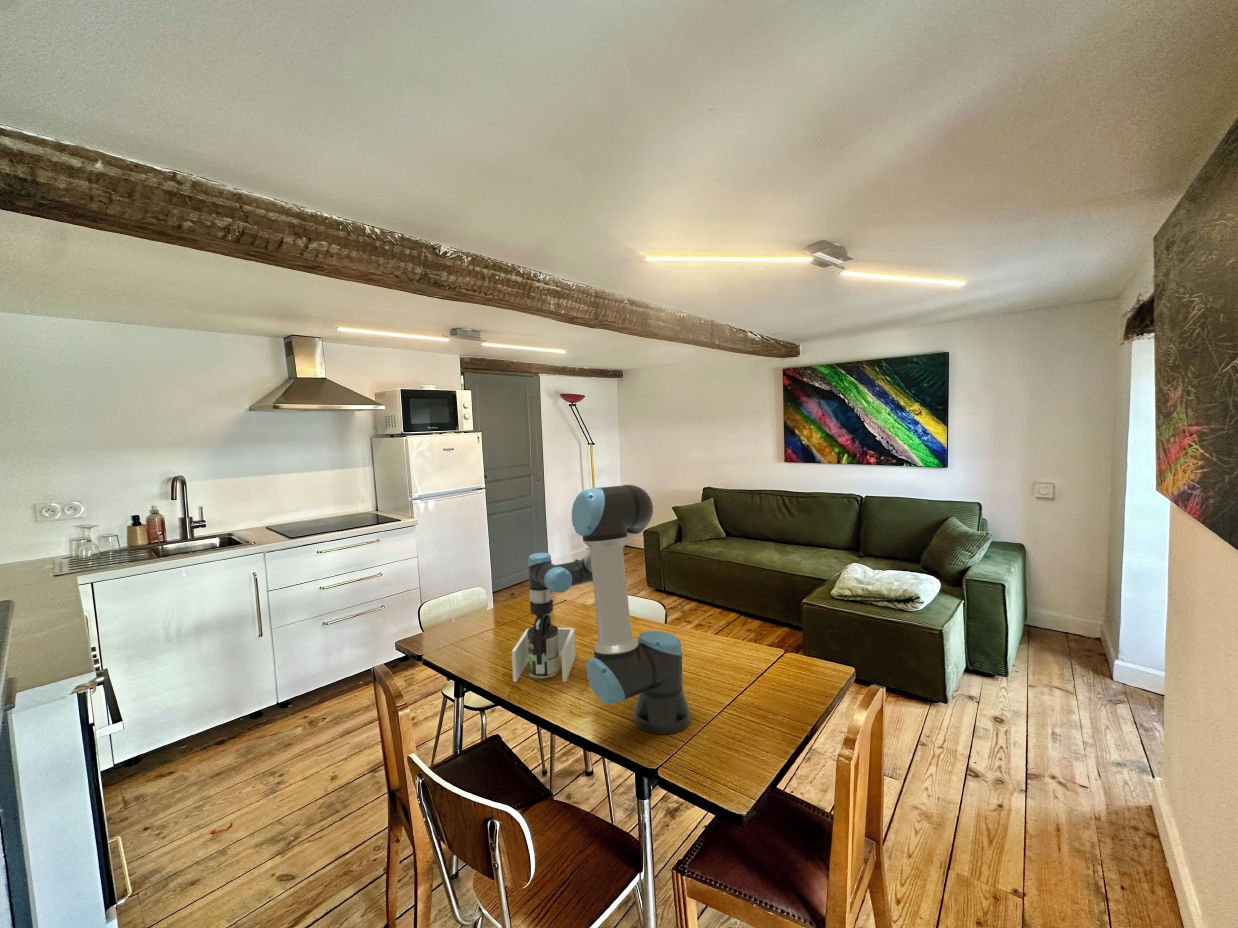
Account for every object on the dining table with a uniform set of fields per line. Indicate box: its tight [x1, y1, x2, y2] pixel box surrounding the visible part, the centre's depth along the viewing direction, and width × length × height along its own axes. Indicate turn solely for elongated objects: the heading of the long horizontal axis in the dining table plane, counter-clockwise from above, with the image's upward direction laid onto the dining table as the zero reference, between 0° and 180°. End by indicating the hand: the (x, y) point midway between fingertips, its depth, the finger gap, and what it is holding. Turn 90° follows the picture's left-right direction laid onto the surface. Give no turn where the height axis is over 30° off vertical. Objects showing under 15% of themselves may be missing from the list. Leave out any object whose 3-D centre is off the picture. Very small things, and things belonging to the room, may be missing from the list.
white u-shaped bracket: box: [511, 627, 577, 683], centre depth 166 cm, size 19×17×10 cm
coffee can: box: [527, 624, 560, 680], centre depth 163 cm, size 10×10×14 cm
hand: (544, 665), depth 163 cm, fingers closed on coffee can, 10 cm apart
